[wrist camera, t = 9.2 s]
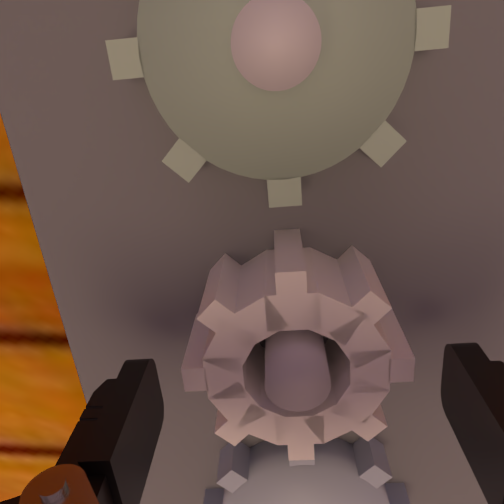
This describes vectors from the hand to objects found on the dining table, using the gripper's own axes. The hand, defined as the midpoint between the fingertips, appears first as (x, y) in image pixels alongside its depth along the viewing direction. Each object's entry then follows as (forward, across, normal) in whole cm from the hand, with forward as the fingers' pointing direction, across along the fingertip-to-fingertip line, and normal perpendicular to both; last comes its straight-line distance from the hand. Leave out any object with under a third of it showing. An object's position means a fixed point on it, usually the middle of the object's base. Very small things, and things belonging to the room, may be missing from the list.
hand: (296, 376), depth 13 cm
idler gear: (+3, 0, 0) cm, 3 cm away
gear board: (+5, 0, 0) cm, 5 cm away
